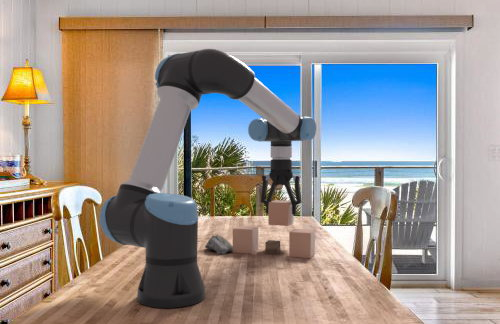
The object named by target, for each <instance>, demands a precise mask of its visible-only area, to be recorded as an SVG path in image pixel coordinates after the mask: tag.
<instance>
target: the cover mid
mask: <svg viewBox="0 0 500 324" xmlns="http://www.w3.org/2000/svg"><path fill="white" fill-rule="evenodd" d="M291 205H292V204H291V201H290V200H278V199H277V200H276V199H275V200H271V202H269V223H268V226H284V227H289V226H290V225H291V226H292V224H290V206H291Z"/></svg>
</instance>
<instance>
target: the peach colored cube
mask: <svg viewBox="0 0 500 324" xmlns="http://www.w3.org/2000/svg"><path fill="white" fill-rule="evenodd" d="M232 246H233V252H232V253H235V254H250V255H251V254H254V253H256V252H257V251H259V226H251V225H250V226H249V225H238V226H236V227H233V228H232Z"/></svg>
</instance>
